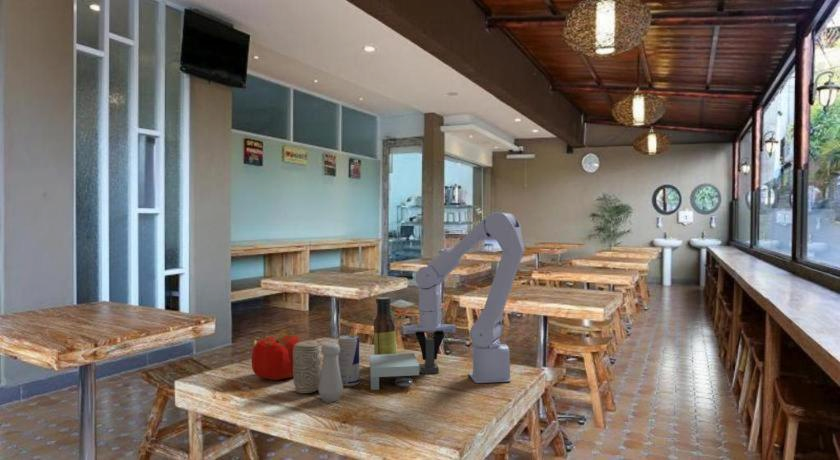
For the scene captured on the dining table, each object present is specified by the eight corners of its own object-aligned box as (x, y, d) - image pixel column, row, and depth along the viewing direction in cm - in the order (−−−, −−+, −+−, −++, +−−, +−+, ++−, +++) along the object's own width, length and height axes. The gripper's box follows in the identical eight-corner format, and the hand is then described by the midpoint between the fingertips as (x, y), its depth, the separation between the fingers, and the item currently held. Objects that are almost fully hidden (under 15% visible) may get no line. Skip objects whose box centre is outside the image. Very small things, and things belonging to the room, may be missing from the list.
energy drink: (363, 381, 131) (363, 335, 131) (352, 387, 126) (351, 340, 126) (345, 378, 134) (345, 333, 133) (334, 384, 129) (334, 338, 128)
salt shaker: (338, 404, 115) (337, 347, 115) (314, 402, 116) (313, 346, 116) (346, 395, 121) (346, 341, 121) (324, 393, 122) (323, 340, 122)
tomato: (298, 367, 145) (298, 330, 144) (309, 380, 133) (308, 340, 132) (248, 373, 139) (248, 335, 138) (255, 388, 127) (254, 346, 127)
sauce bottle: (400, 366, 145) (400, 297, 145) (388, 371, 140) (387, 300, 139) (382, 362, 148) (382, 295, 148) (369, 368, 143) (368, 298, 143)
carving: (305, 385, 128) (304, 338, 128) (327, 390, 125) (327, 342, 124) (286, 392, 123) (286, 343, 123) (310, 398, 119) (309, 347, 119)
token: (411, 382, 132) (411, 377, 132) (413, 387, 127) (413, 382, 127) (394, 382, 131) (394, 378, 131) (396, 388, 127) (396, 383, 127)
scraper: (436, 368, 143) (436, 336, 142) (438, 373, 138) (438, 340, 138) (388, 370, 141) (388, 338, 141) (389, 375, 137) (389, 342, 136)
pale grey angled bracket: (414, 373, 138) (413, 353, 138) (419, 387, 126) (419, 365, 126) (369, 375, 137) (369, 354, 136) (371, 390, 125) (370, 367, 125)
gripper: (452, 306, 145) (452, 353, 145) (401, 308, 143) (402, 355, 143) (457, 311, 138) (457, 360, 138) (404, 312, 136) (404, 362, 136)
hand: (429, 358), depth 140 cm, fingers closed on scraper, 2 cm apart
